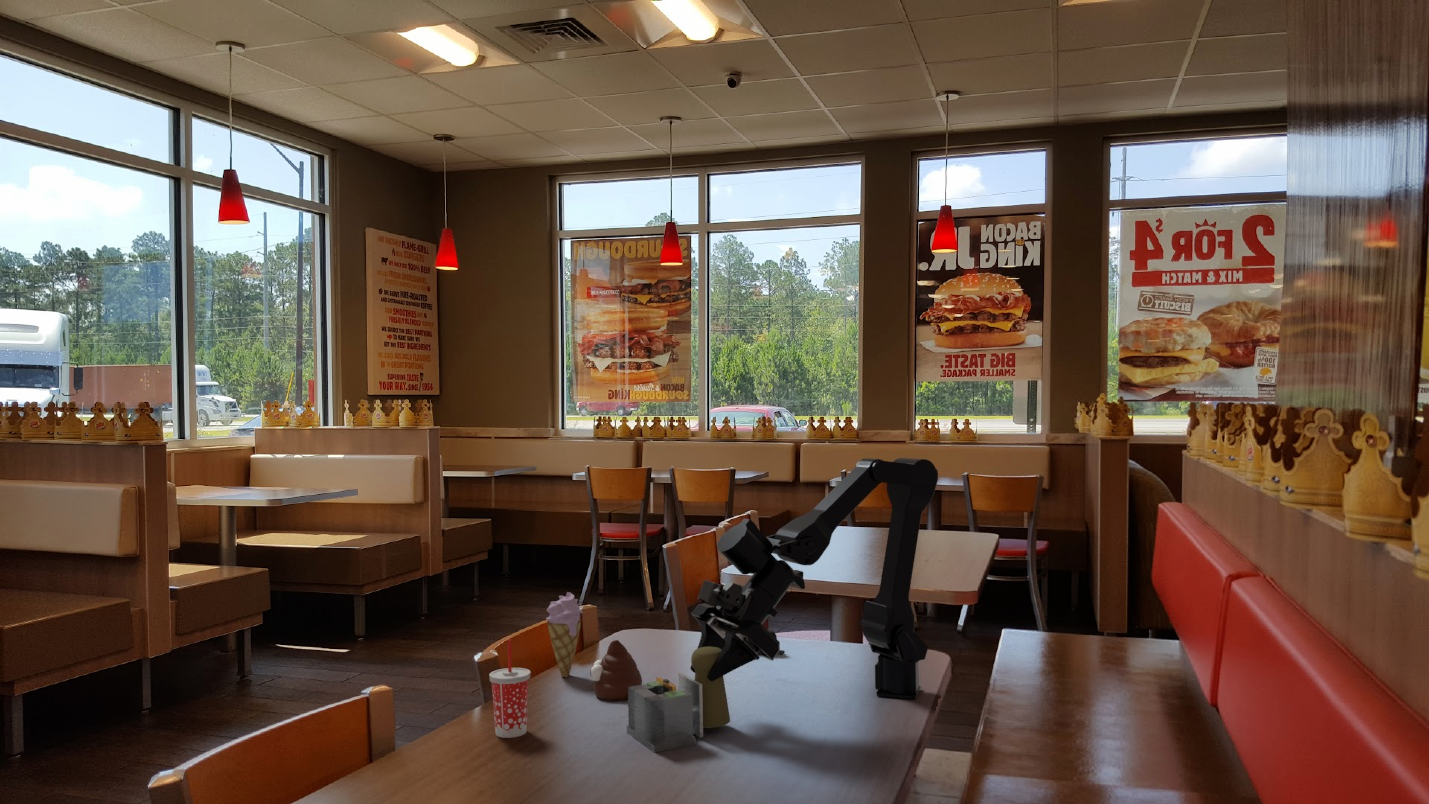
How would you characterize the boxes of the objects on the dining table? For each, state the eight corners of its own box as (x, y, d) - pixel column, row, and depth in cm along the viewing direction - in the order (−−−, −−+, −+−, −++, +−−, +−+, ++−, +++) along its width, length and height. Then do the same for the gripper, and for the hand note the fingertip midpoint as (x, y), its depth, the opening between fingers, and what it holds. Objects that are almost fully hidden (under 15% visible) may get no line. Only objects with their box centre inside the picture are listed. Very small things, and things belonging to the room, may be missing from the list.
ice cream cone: (591, 674, 180) (590, 592, 180) (568, 683, 175) (567, 598, 175) (563, 669, 184) (562, 589, 184) (540, 678, 179) (539, 594, 179)
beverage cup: (539, 728, 151) (537, 636, 151) (518, 741, 145) (516, 645, 145) (503, 724, 153) (502, 633, 153) (482, 737, 147) (480, 643, 147)
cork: (726, 728, 146) (723, 653, 146) (686, 726, 147) (683, 652, 147) (733, 715, 152) (731, 643, 151) (695, 713, 153) (692, 642, 153)
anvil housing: (666, 725, 151) (665, 678, 151) (695, 744, 142) (694, 694, 142) (626, 732, 148) (625, 684, 148) (654, 752, 139) (653, 701, 139)
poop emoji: (639, 702, 164) (638, 645, 164) (587, 702, 164) (587, 646, 164) (644, 685, 174) (643, 631, 174) (595, 685, 174) (595, 632, 174)
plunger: (682, 723, 151) (681, 670, 151) (703, 736, 145) (702, 681, 145) (655, 728, 149) (654, 674, 149) (675, 742, 143) (674, 686, 143)
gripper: (700, 552, 159) (639, 630, 154) (759, 568, 143) (693, 656, 138) (744, 595, 163) (686, 673, 158) (807, 616, 146) (744, 703, 141)
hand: (700, 675), depth 148 cm, fingers closed on cork, 5 cm apart
